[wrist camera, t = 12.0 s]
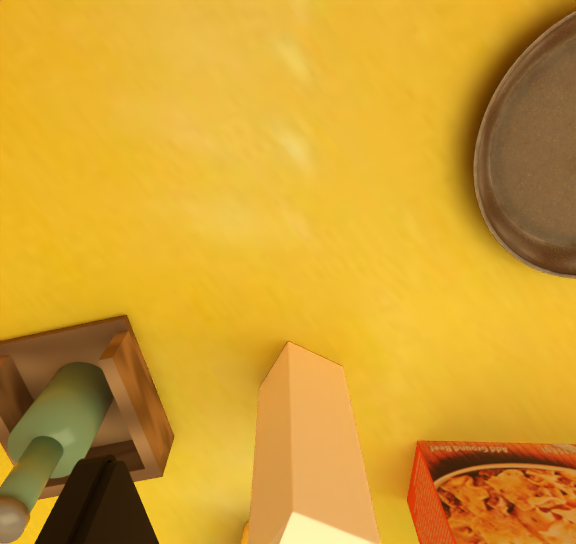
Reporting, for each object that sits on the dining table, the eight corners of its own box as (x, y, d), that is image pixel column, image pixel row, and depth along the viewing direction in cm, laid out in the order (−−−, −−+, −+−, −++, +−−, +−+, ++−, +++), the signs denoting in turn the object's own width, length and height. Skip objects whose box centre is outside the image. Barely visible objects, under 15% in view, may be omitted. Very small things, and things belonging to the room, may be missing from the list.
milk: (288, 339, 44) (293, 562, 24) (344, 366, 45) (396, 600, 25) (257, 389, 46) (239, 633, 26) (312, 413, 47) (336, 666, 27)
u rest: (-3, 342, 44) (-38, 374, 39) (126, 314, 43) (107, 345, 38) (57, 458, 49) (33, 500, 44) (174, 436, 48) (162, 476, 43)
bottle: (41, 370, 44) (-66, 503, 30) (101, 355, 44) (20, 483, 30) (67, 420, 46) (-22, 566, 32) (124, 406, 46) (59, 548, 32)
